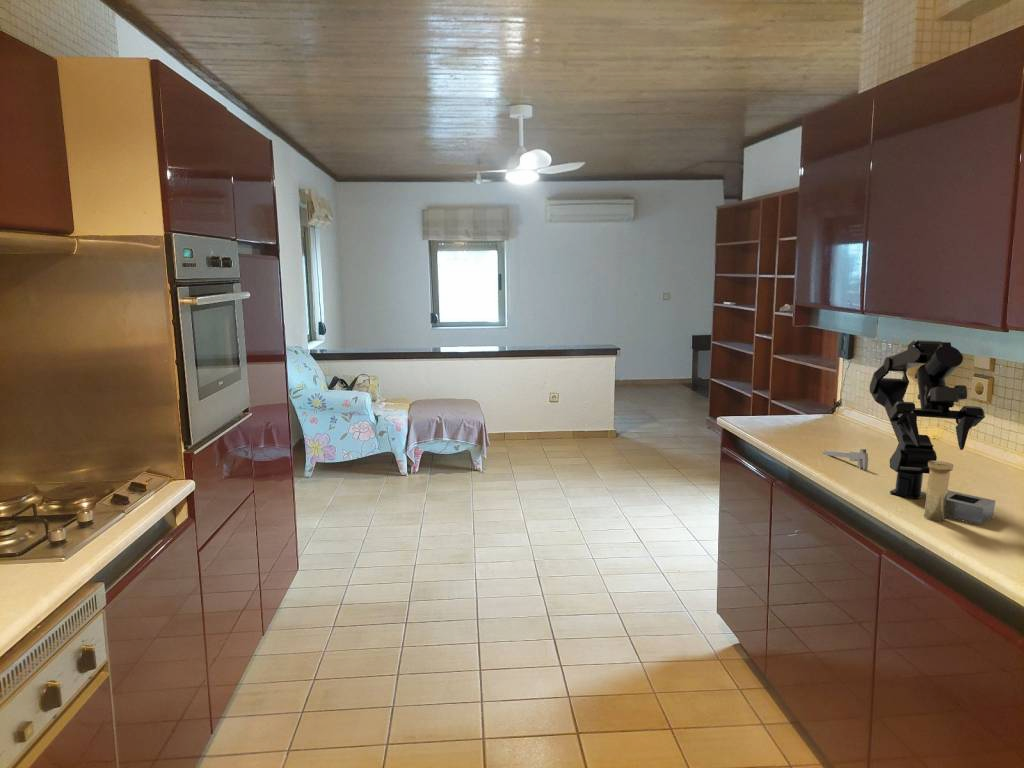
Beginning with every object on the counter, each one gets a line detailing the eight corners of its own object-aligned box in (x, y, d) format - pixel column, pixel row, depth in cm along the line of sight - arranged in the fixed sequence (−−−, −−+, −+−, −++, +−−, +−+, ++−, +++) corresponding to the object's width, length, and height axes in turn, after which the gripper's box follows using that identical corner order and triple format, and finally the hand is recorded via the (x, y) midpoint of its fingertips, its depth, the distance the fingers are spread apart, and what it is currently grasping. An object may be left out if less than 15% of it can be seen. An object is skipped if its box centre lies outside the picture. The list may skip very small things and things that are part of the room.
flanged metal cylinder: (926, 513, 169) (932, 459, 167) (949, 519, 165) (956, 464, 163) (918, 517, 166) (924, 462, 164) (942, 523, 162) (949, 467, 160)
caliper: (867, 471, 205) (869, 450, 204) (863, 471, 205) (866, 450, 204) (824, 453, 225) (826, 434, 224) (821, 453, 225) (823, 434, 224)
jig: (945, 506, 175) (947, 490, 174) (993, 517, 167) (995, 500, 167) (932, 513, 169) (934, 497, 168) (980, 525, 162) (983, 508, 161)
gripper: (901, 368, 167) (908, 430, 160) (990, 373, 163) (1001, 436, 156) (886, 390, 177) (891, 449, 170) (969, 395, 173) (979, 456, 166)
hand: (940, 447), depth 165 cm, fingers open, 9 cm apart
